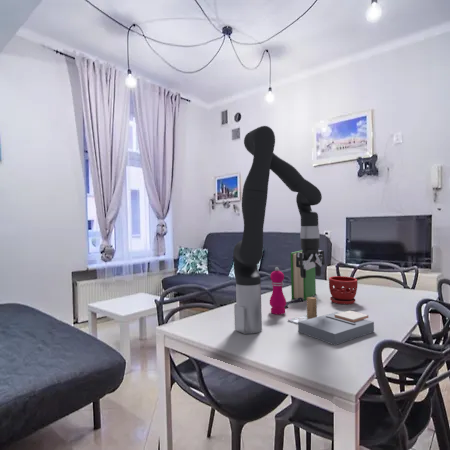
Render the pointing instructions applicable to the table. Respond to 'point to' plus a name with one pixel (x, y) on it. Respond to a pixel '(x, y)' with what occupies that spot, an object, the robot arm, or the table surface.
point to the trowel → (310, 311)
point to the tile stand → (334, 328)
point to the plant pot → (342, 289)
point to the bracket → (294, 302)
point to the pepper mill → (277, 293)
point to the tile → (351, 316)
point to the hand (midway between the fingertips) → (311, 276)
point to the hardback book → (302, 280)
